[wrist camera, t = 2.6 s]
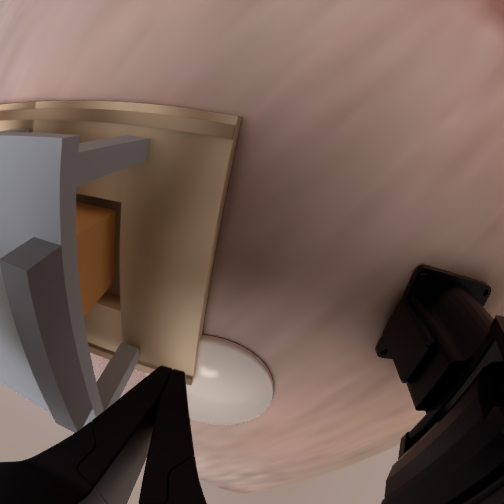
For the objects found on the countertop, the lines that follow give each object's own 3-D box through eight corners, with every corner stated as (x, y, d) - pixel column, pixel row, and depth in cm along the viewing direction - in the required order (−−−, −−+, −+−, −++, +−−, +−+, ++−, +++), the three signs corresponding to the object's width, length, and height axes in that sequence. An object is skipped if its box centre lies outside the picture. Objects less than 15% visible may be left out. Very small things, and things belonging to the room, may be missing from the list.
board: (242, 117, 13) (236, 115, 11) (196, 370, 19) (190, 389, 18) (-53, 113, 12) (-68, 116, 11) (-41, 271, 19) (-51, 279, 17)
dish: (289, 352, 18) (289, 361, 17) (257, 425, 22) (256, 433, 21) (148, 318, 18) (144, 326, 17) (150, 399, 22) (147, 407, 21)
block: (116, 210, 15) (38, 263, 9) (115, 281, 17) (56, 350, 11) (55, 197, 15) (-24, 238, 9) (59, 263, 17) (-5, 317, 11)
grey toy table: (152, 127, 11) (19, 147, 5) (139, 364, 17) (92, 460, 10) (17, 119, 11) (-92, 145, 4) (34, 321, 17) (-25, 388, 10)
